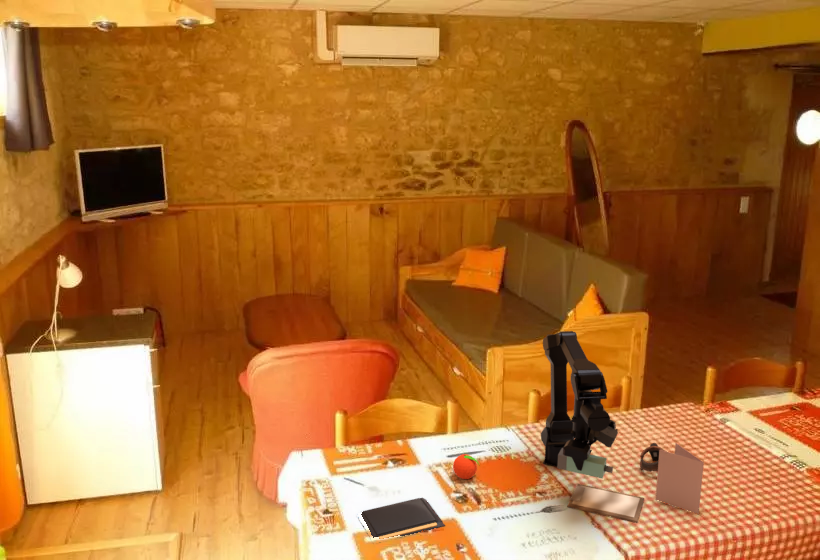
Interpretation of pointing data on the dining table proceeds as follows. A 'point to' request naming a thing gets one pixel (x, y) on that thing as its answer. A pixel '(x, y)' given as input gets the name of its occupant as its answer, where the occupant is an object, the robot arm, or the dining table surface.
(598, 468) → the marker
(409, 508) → the black notebook
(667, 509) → the dining table surface
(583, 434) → the robot arm
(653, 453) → the pottery mug
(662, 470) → the greeting card
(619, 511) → the clipboard
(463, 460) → the clementine
